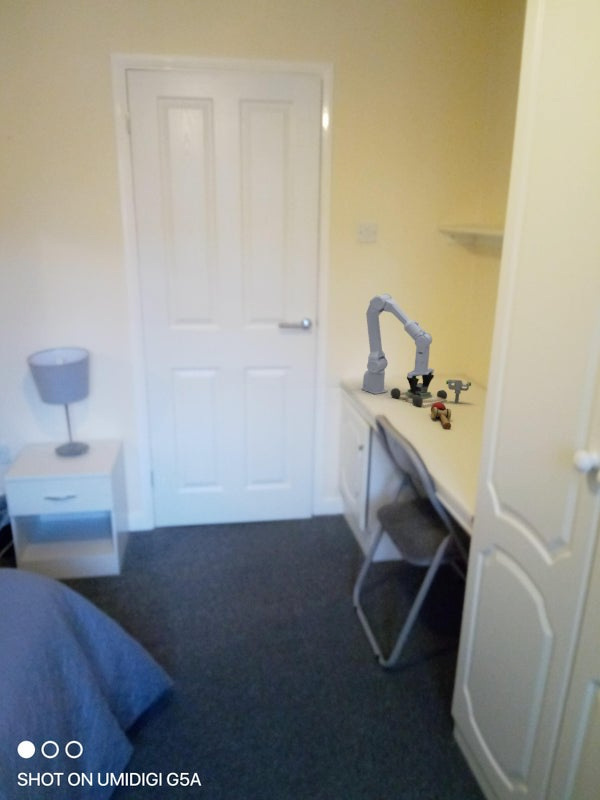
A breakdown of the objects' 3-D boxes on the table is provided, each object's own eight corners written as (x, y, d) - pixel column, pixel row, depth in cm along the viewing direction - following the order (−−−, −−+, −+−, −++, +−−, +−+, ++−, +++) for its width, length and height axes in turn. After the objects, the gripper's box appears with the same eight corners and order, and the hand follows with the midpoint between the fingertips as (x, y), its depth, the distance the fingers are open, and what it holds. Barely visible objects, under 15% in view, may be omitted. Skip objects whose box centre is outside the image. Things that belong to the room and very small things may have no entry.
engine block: (412, 395, 263) (412, 385, 261) (418, 394, 265) (419, 383, 264) (420, 398, 259) (421, 387, 257) (426, 397, 261) (427, 386, 260)
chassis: (388, 396, 265) (389, 386, 264) (415, 390, 275) (415, 381, 274) (421, 408, 250) (422, 398, 249) (448, 401, 260) (449, 392, 259)
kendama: (458, 432, 228) (446, 411, 244) (457, 418, 225) (446, 397, 242) (438, 435, 228) (428, 414, 245) (437, 421, 226) (427, 400, 242)
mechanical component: (468, 405, 256) (471, 382, 253) (444, 403, 258) (446, 380, 255) (468, 403, 259) (470, 381, 256) (444, 401, 261) (446, 379, 258)
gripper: (417, 365, 250) (414, 396, 254) (440, 361, 259) (437, 390, 263) (404, 361, 256) (402, 392, 260) (427, 357, 264) (425, 387, 268)
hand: (419, 391), depth 262 cm, fingers open, 7 cm apart
